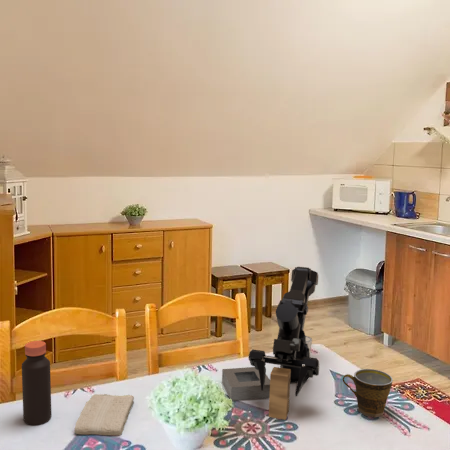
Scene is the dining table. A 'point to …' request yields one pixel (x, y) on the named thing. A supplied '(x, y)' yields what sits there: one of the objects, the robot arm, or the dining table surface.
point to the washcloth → (104, 415)
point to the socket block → (244, 384)
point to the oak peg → (279, 393)
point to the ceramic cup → (371, 390)
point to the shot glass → (309, 342)
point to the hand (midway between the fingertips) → (278, 393)
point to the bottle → (36, 384)
